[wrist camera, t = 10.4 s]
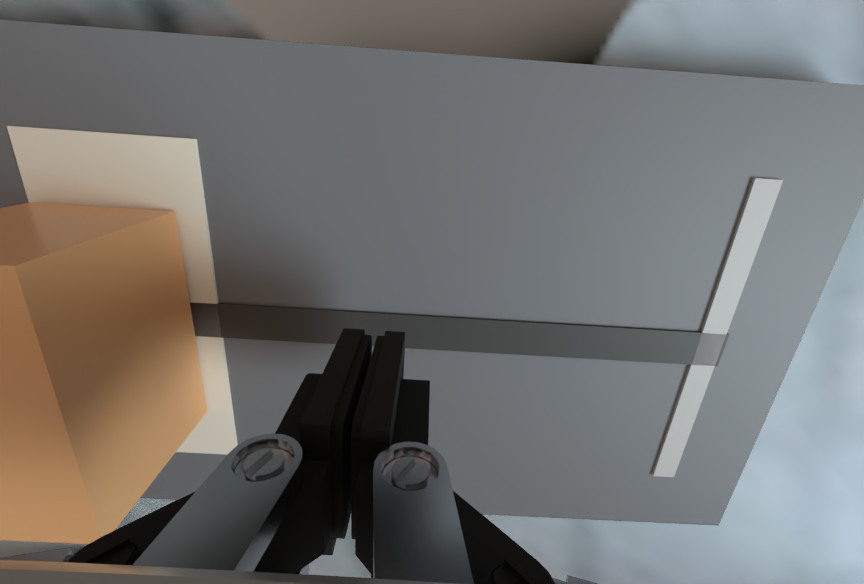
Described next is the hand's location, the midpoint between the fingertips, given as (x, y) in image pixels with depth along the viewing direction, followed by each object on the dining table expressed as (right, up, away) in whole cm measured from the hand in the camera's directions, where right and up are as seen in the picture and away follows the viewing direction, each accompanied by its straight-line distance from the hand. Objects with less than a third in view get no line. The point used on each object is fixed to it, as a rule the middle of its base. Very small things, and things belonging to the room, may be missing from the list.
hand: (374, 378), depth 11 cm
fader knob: (-8, +2, +2) cm, 8 cm away
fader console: (-1, +2, +4) cm, 5 cm away
